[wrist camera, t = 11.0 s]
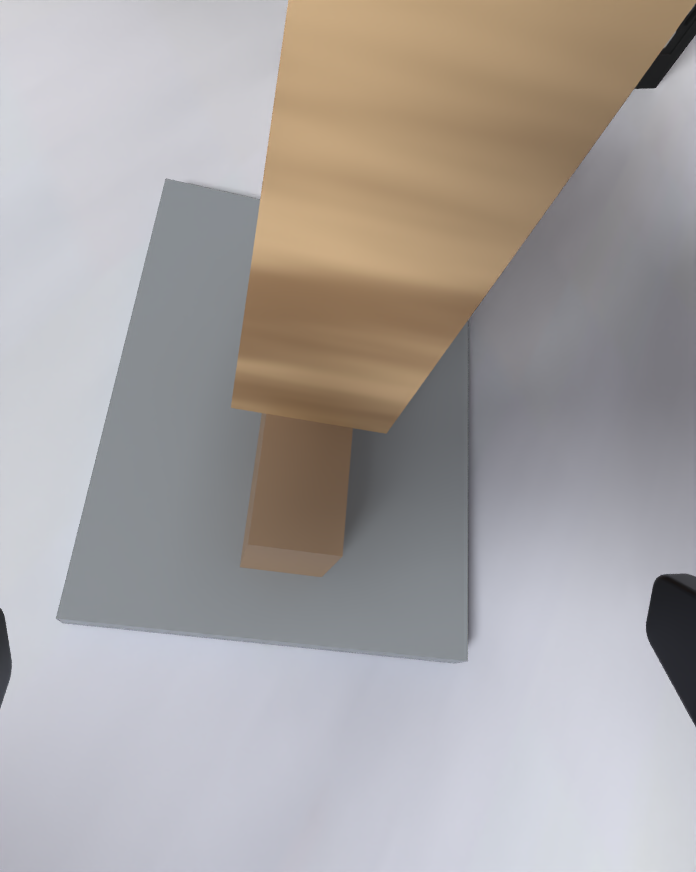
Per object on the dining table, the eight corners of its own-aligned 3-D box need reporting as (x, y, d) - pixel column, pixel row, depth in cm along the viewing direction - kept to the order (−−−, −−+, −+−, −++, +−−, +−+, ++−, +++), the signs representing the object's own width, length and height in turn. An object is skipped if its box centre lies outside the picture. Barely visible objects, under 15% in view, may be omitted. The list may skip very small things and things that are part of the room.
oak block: (386, 433, 19) (780, -115, 6) (230, 407, 18) (328, -275, 6) (394, 305, 21) (712, -321, 8) (252, 276, 20) (363, -463, 7)
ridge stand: (455, 663, 21) (511, 653, 17) (62, 622, 19) (32, 602, 15) (459, 260, 27) (500, 192, 24) (166, 197, 25) (162, 112, 22)
